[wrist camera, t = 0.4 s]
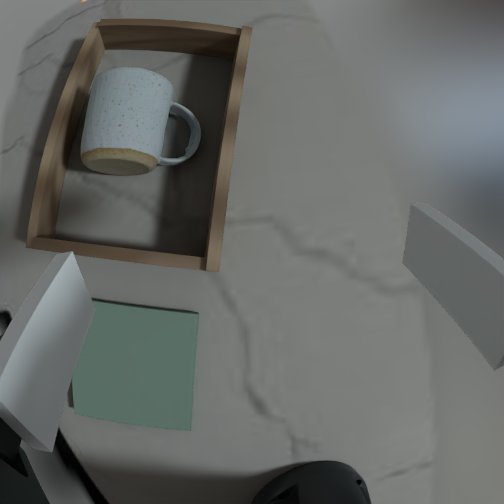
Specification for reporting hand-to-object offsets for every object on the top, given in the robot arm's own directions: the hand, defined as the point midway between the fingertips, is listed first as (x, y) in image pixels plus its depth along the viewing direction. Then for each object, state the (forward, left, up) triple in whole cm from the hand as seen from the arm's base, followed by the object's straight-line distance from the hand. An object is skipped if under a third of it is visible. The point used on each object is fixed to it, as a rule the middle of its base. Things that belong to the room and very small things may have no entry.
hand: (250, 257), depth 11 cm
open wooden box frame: (+11, +8, -18) cm, 23 cm away
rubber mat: (-11, +7, -18) cm, 22 cm away
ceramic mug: (+11, +8, -18) cm, 23 cm away
